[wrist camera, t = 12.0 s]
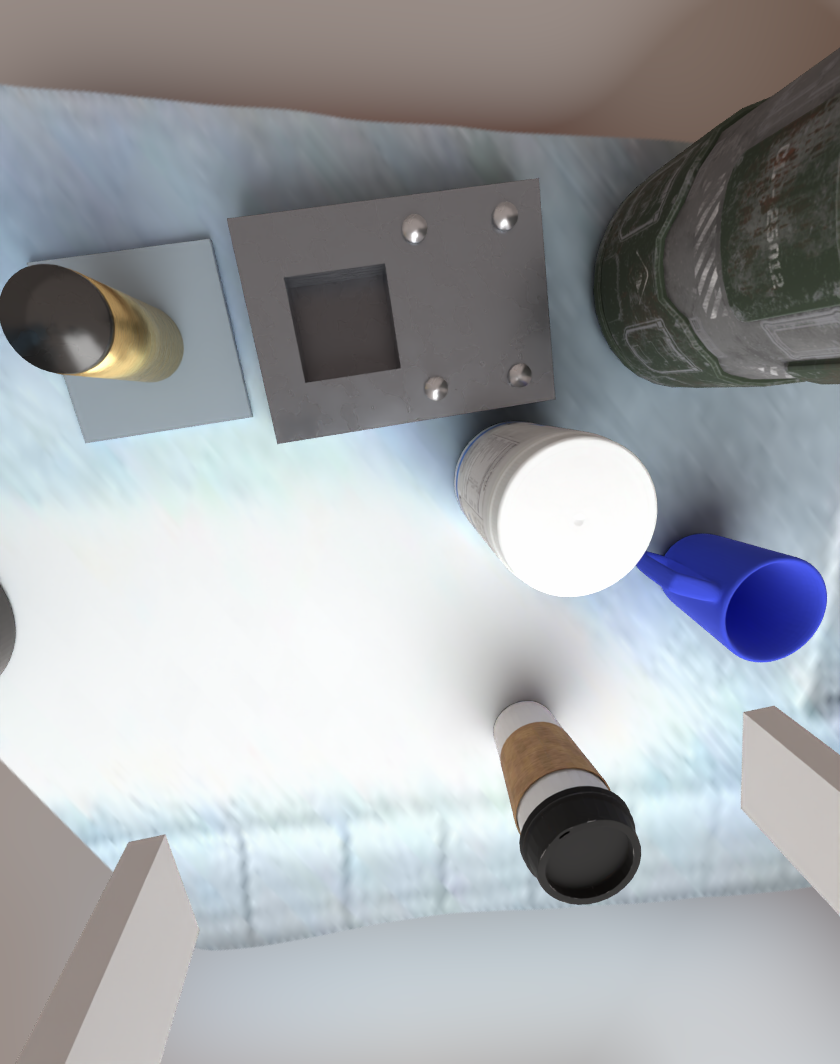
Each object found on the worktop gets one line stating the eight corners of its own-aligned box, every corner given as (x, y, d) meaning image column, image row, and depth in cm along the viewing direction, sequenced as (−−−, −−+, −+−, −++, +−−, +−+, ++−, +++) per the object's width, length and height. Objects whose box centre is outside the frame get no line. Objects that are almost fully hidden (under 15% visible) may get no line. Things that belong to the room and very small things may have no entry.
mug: (628, 501, 44) (702, 531, 35) (746, 535, 46) (848, 572, 37) (594, 588, 46) (656, 640, 36) (710, 617, 48) (797, 672, 39)
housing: (285, 439, 40) (276, 444, 35) (240, 237, 36) (225, 216, 32) (536, 398, 41) (557, 399, 37) (520, 200, 37) (540, 175, 33)
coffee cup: (535, 671, 48) (612, 792, 33) (582, 731, 50) (673, 868, 35) (462, 724, 48) (506, 865, 34) (511, 780, 50) (573, 935, 36)
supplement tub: (583, 446, 43) (695, 473, 28) (535, 550, 44) (617, 622, 30) (478, 400, 41) (541, 404, 27) (432, 510, 42) (468, 569, 28)
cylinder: (116, 386, 37) (16, 379, 26) (96, 308, 35) (-18, 268, 25) (191, 378, 37) (122, 368, 27) (174, 300, 36) (94, 257, 25)
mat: (89, 442, 38) (85, 443, 38) (32, 265, 35) (26, 262, 34) (253, 416, 39) (251, 417, 38) (211, 241, 36) (209, 238, 35)
